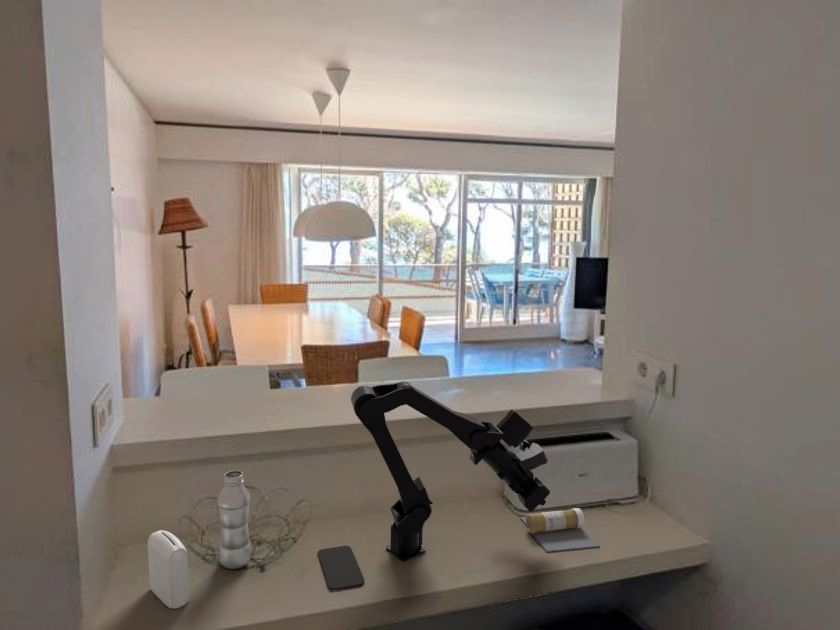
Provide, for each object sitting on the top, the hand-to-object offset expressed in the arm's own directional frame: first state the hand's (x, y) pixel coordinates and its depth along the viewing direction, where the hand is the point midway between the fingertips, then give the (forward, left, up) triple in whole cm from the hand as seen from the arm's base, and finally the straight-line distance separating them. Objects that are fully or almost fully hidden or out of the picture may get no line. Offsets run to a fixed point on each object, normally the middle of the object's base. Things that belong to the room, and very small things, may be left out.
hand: (544, 503), depth 137 cm
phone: (-44, +18, -9) cm, 48 cm away
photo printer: (-75, +29, -9) cm, 81 cm away
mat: (+5, 0, -9) cm, 10 cm away
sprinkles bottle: (-1, +3, -6) cm, 7 cm away
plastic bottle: (-61, +32, -9) cm, 69 cm away
